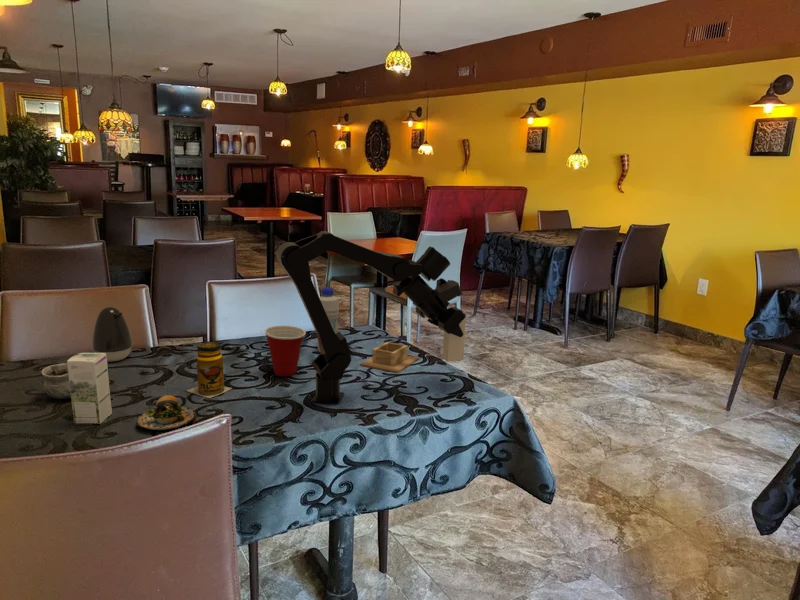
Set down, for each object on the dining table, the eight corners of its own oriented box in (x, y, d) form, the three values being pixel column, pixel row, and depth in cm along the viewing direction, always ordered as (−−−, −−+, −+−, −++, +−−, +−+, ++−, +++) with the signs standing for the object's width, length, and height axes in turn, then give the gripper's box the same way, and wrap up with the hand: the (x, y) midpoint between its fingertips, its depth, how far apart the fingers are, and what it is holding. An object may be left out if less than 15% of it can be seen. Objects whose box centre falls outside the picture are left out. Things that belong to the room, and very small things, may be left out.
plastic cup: (293, 382, 148) (293, 337, 145) (257, 376, 151) (256, 333, 149) (313, 369, 158) (313, 327, 155) (278, 364, 161) (278, 323, 159)
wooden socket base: (397, 373, 157) (397, 357, 156) (359, 365, 162) (360, 350, 161) (419, 359, 169) (419, 344, 168) (383, 352, 174) (384, 338, 173)
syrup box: (113, 414, 126) (107, 351, 123) (100, 425, 121) (94, 360, 118) (86, 413, 126) (80, 351, 123) (72, 425, 121) (65, 360, 117)
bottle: (312, 353, 172) (311, 288, 167) (325, 347, 178) (325, 284, 173) (331, 356, 169) (330, 290, 164) (343, 351, 175) (343, 286, 170)
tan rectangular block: (447, 361, 146) (449, 316, 143) (442, 358, 149) (444, 313, 146) (463, 360, 148) (465, 314, 145) (458, 356, 150) (460, 312, 148)
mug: (53, 389, 139) (48, 350, 137) (109, 386, 142) (105, 348, 140) (37, 405, 130) (32, 363, 128) (97, 402, 133) (93, 361, 131)
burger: (124, 433, 118) (121, 399, 117) (157, 410, 130) (154, 379, 128) (178, 438, 117) (176, 404, 115) (206, 415, 128) (204, 383, 126)
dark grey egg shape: (107, 367, 155) (102, 313, 152) (85, 360, 161) (80, 307, 157) (141, 357, 164) (137, 306, 161) (119, 351, 169) (115, 301, 166)
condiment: (210, 398, 136) (207, 350, 134) (185, 391, 140) (182, 344, 138) (232, 389, 142) (230, 343, 140) (208, 382, 147) (206, 337, 144)
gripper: (460, 277, 133) (498, 320, 139) (428, 264, 150) (463, 303, 156) (427, 312, 132) (467, 353, 138) (399, 295, 149) (436, 333, 155)
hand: (459, 334), depth 147 cm, fingers closed on tan rectangular block, 3 cm apart
